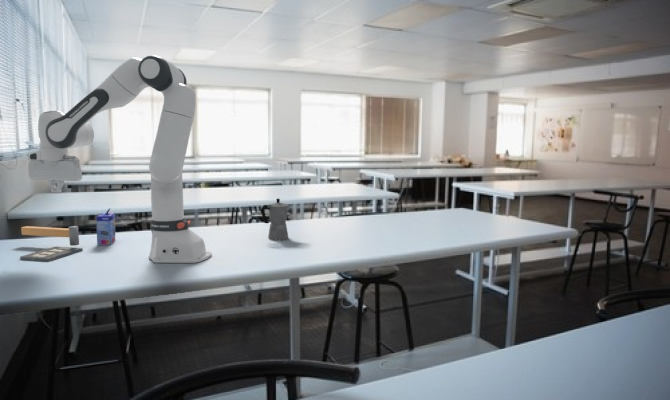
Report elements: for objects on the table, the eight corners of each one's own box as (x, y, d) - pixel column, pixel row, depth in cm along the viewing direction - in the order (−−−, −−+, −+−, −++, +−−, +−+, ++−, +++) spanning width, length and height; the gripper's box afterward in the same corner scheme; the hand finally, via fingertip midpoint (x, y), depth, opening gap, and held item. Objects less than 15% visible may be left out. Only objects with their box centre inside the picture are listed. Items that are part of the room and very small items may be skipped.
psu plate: (82, 250, 173) (82, 247, 173) (49, 261, 157) (48, 257, 157) (55, 248, 175) (55, 245, 175) (20, 259, 159) (19, 255, 159)
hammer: (75, 245, 175) (73, 227, 174) (21, 242, 179) (20, 224, 178) (81, 243, 178) (79, 226, 177) (28, 240, 182) (27, 223, 181)
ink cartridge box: (111, 245, 183) (109, 210, 181) (96, 245, 181) (94, 210, 179) (116, 240, 192) (114, 206, 190) (102, 240, 191) (100, 207, 189)
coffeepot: (284, 234, 208) (284, 196, 205) (296, 238, 200) (296, 198, 198) (255, 238, 198) (255, 198, 195) (266, 242, 191) (266, 201, 188)
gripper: (85, 155, 166) (87, 192, 168) (38, 154, 170) (40, 190, 172) (72, 156, 160) (74, 194, 162) (23, 155, 164) (26, 192, 166)
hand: (56, 192), depth 167 cm, fingers closed
